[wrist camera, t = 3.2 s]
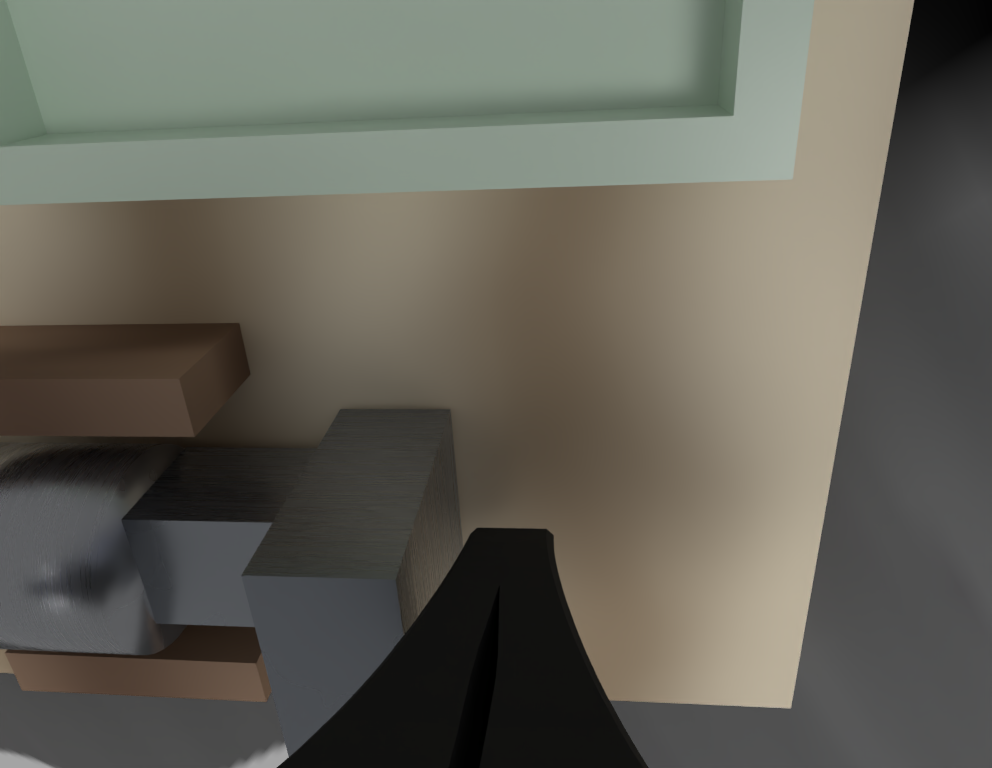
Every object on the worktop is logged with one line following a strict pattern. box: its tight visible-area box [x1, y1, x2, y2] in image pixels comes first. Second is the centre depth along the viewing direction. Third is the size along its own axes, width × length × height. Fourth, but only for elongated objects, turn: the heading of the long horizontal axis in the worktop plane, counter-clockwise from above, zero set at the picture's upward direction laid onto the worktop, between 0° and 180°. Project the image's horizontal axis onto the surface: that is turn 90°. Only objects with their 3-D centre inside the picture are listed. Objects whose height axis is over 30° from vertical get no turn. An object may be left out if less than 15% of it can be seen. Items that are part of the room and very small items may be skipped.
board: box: [0, 0, 914, 708], centre depth 13 cm, size 21×20×1 cm
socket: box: [0, 323, 271, 702], centre depth 14 cm, size 5×7×2 cm
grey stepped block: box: [121, 409, 463, 757], centre depth 12 cm, size 5×4×4 cm
